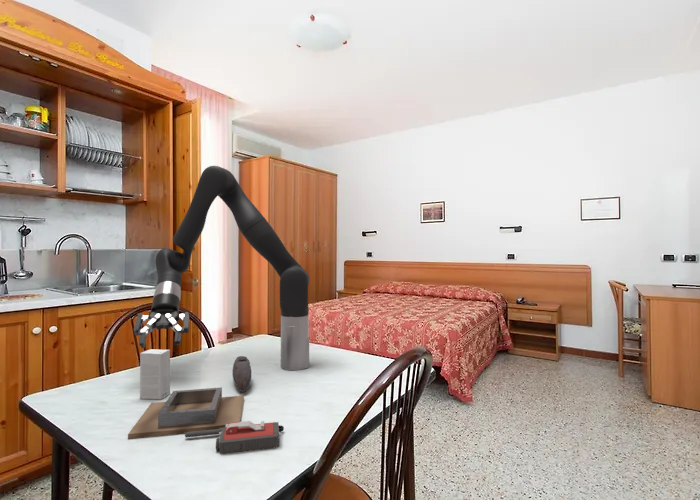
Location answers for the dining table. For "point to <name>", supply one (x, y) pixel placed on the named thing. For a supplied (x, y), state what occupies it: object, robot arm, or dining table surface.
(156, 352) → the skincare box
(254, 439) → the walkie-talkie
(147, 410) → the board
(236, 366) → the perforated stone tool
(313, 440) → the dining table surface
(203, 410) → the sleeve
